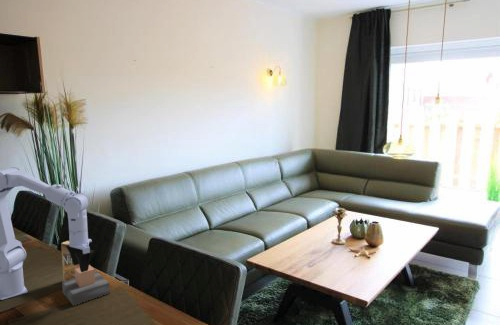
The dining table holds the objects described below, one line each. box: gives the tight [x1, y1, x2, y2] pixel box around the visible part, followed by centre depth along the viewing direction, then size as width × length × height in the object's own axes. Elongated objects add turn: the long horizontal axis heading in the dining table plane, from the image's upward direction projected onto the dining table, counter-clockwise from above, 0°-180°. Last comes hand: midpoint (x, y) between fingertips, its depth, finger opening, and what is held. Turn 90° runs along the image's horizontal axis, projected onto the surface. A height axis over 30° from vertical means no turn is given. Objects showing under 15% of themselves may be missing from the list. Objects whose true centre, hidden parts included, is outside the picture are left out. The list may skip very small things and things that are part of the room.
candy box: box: [60, 240, 80, 282], centre depth 133 cm, size 9×4×15 cm, turn 66°
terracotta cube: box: [75, 264, 96, 287], centre depth 125 cm, size 5×5×5 cm
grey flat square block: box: [61, 271, 111, 307], centre depth 126 cm, size 12×12×4 cm
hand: (80, 267), depth 124 cm, fingers open, 7 cm apart
